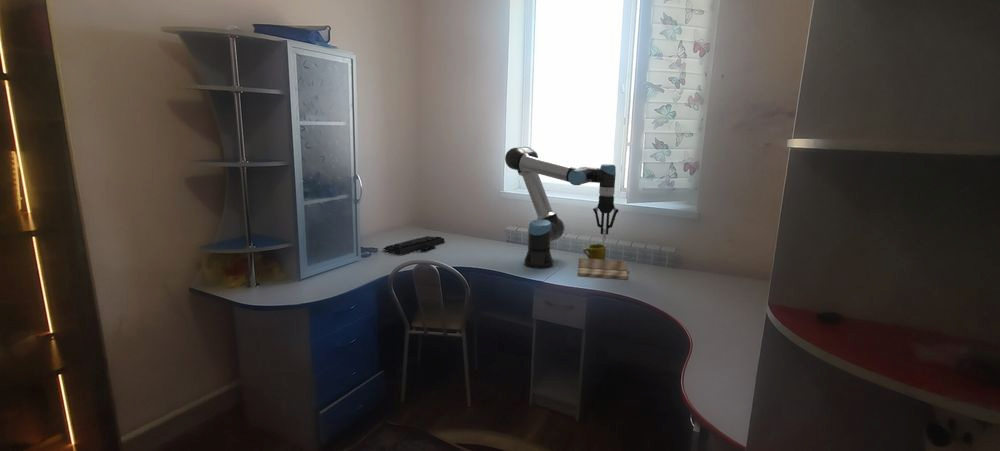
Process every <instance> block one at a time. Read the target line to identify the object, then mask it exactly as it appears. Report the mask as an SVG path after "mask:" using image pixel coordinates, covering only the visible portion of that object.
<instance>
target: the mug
mask: <svg viewBox="0 0 1000 451" xmlns="http://www.w3.org/2000/svg"><path fill="white" fill-rule="evenodd" d="M582 252H583V253H584V254H585V255H586V257H587V259H602V260H606V245H605V244H603V243H602V244H601V243H600V244H599V243H595V244H594V243H593V244H590V245H589V246H588V247H584V248H583V250H582Z"/></svg>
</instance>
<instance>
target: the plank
mask: <svg viewBox="0 0 1000 451" xmlns="http://www.w3.org/2000/svg"><path fill="white" fill-rule="evenodd" d="M577 265H578V266H577V269H578V268H589V269H603V270H616V271H626V272H627V260H614V259H605V260H602V259H589V258H588V257H586V258H585V257H584V258H583V257H579V258H578V264H577Z"/></svg>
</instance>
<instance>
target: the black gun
mask: <svg viewBox="0 0 1000 451" xmlns="http://www.w3.org/2000/svg"><path fill="white" fill-rule="evenodd" d="M445 243H446V240H445V238H444V237H442V236H429V235H427V236H423V237H418V238H414V239H413V238H412V239H410V240H406V241H403V242H398V243H394V244H391V245H386V246H385V247H383V249H382V250H384V249H385V250H388V251H391V252H390V253H392V252H395V253H394V254H396V253H398V254H397V255H400V254H404V255H406V254H405V253H408V254H411V253H410V252H412V253H415V252H414V251H416V252H418V250H419V251H420V252H422V251H423V252H427V251H431V250H436V247H437V246H439V245H443V244H445ZM385 250H384V251H385ZM388 251H387V252H388Z"/></svg>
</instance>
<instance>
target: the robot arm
mask: <svg viewBox="0 0 1000 451" xmlns="http://www.w3.org/2000/svg"><path fill="white" fill-rule="evenodd" d="M504 160H505V164H506V166H507V167H509V168H510V169H511V170H515V171H517V173H518V175H519V176H521V177H522V179H523V181H524V184H525V187H526V189H527V192H528V195H529V197H530V200H531V202H532V205H533V207H534V211H535V213H536V216H537V218H536V219H535V220H531V221H530V222H529V224H528V233H527V234H528V236H527V237H528V240H527V248H528V249H527V251H526V252H527V253H526V255H525V257H524V266H526V267H529V268H530V269H531V268H532V269H548V268H549V269H550V268H552V267H553V265H554V261H553V257H552V254H551V242H553V241H556V240H558V239H560V238H561V237H562V236H563V235H564V232H565V230H566V229H565V223H564V222H563V220H562V219H561V218H559V217H558V215H557V212H554V211H553V209H552V206H551V203H550V200H549V199H548V196H547V193H546V190H545V188H544V186H543V183H542V181H541V180H542V179H541V177H540V176H541V175H542V176H545V177H549V178H553V179H555V180H556V179H557V180H561V181H564V182H567V183H570V184H571V185H572V186H581V185H584V184H588V183H593V184H594V183H595V184H596V183H597V184H599V190H598V193H599V196H598V204H597V206H596V207H594V208H592V210H593V212H594V215H595V221H596V224H597V227H598V228H599V229H600V234H601V235H602V242H606V241H607V240H606V239H607V235H609V229H610V228H613V225H614V224H615V223H614V222H615V220H616V216H617V214H618V212H619V209H618V208H616V207H615V203H614V202H615V196H614V195H615V186H616V176H617V174H616V173H617V172H616V165H614V164H611V163H609V164H608V163H606V164H605V163H603V164H601V165H600V167H588V166H580V167H578V168H577V167H573V166H569V165H565V164H561V163H557V162H554V161H550V160H547V159H546V160H545V159H542V158H539V156H538V152H537V151H536V150H535V149H534V148H532V147H530V146H522V147H519V146H518V147H513V148H510V149H509V150H508V151H506V154H505V157H504ZM599 211H600V213H601V221H600V218H599V214H598V212H599ZM612 211H613V214H612V216H611V220H610V213H612ZM605 214H606V221H605ZM604 221H605V222H604ZM604 223H606V224H605V225H604ZM604 226H605V227H604Z"/></svg>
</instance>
